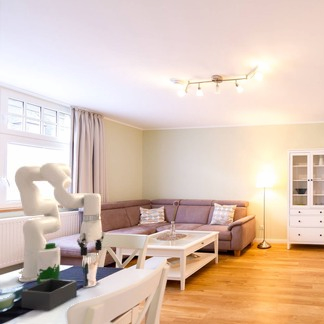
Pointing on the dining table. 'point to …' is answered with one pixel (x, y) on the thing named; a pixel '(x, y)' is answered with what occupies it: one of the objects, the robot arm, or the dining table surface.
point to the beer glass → (90, 269)
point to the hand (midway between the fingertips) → (91, 252)
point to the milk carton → (48, 263)
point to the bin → (49, 294)
